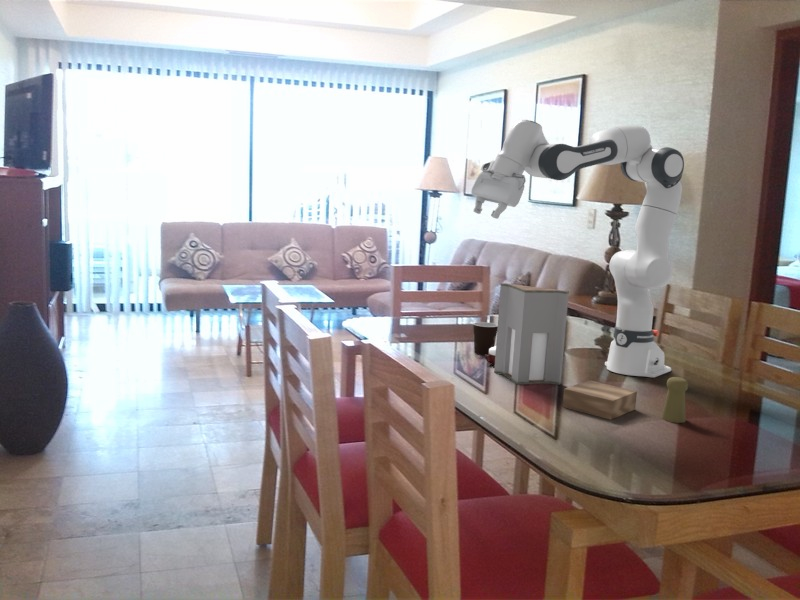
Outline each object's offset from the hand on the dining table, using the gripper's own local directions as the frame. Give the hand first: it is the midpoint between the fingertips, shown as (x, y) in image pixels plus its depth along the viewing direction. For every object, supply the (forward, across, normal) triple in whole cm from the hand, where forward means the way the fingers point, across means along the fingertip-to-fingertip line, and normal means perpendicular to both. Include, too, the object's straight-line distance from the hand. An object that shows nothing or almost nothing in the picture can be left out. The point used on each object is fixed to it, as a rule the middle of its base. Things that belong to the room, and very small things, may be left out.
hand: (485, 215), depth 220 cm
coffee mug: (+37, +26, -42) cm, 62 cm away
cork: (+29, -53, -45) cm, 76 cm away
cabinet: (+39, -10, -32) cm, 51 cm away
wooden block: (+35, -39, -34) cm, 63 cm away
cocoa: (+38, +10, -36) cm, 54 cm away
